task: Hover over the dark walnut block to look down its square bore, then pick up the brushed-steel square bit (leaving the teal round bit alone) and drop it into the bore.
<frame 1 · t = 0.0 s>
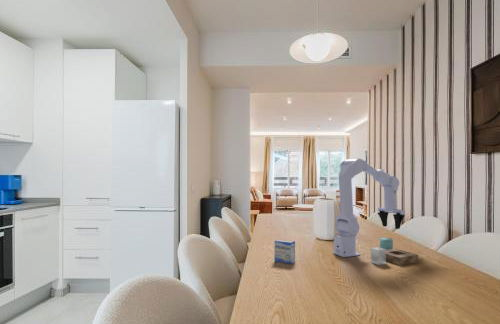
hand: (391, 227, 147), 10 cm above the table, tool pointing down, fingers open, 7 cm apart
medicine box: (284, 262, 125), on the table
round bit: (386, 251, 140), on the table
walnut bore block: (397, 260, 126), on the table
square bit: (378, 263, 122), on the table
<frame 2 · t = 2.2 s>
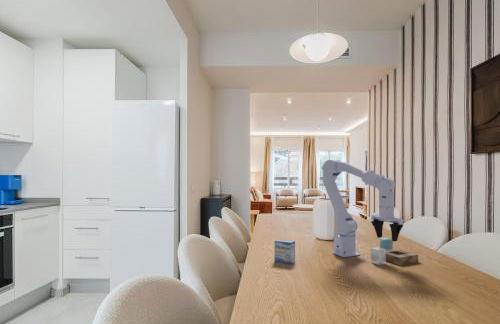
hand: (386, 239, 124), 9 cm above the table, tool pointing down, fingers open, 7 cm apart
nothing on the table moved.
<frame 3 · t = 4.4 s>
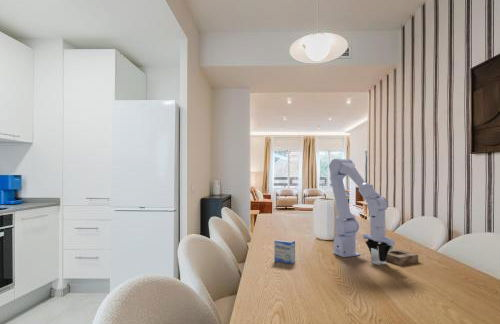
hand: (378, 259, 122), 1 cm above the table, tool pointing down, fingers closed on square bit, 4 cm apart
square bit: (378, 263, 122), on the table, touching gripper
everything else where it was.
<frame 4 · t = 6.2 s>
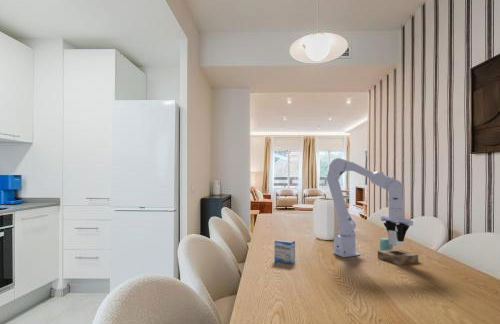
hand: (396, 240, 126), 8 cm above the table, tool pointing down, fingers closed on square bit, 4 cm apart
square bit: (396, 244, 126), point 7 cm above the table, touching gripper
everything else where it was.
when the fingers open (4 cm above the table, at t = 8.2 s): square bit drops 1 cm, resting on walnut bore block.
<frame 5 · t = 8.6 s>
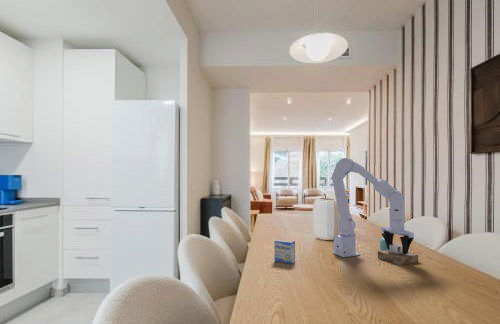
hand: (397, 251, 126), 4 cm above the table, tool pointing down, fingers open, 7 cm apart
square bit: (397, 259, 126), resting on walnut bore block
everything else where it was.
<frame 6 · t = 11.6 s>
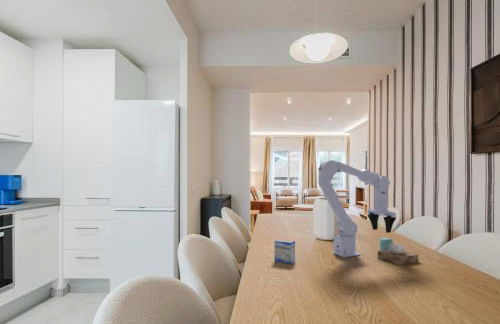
hand: (381, 231, 137), 10 cm above the table, tool pointing down, fingers open, 7 cm apart
nothing on the table moved.
at the end: square bit 0.4 cm off-centre on the walnut bore block, point 0.3 cm above the walnut bore block's base; square bit tilted 0°; the gripper is holding nothing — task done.
